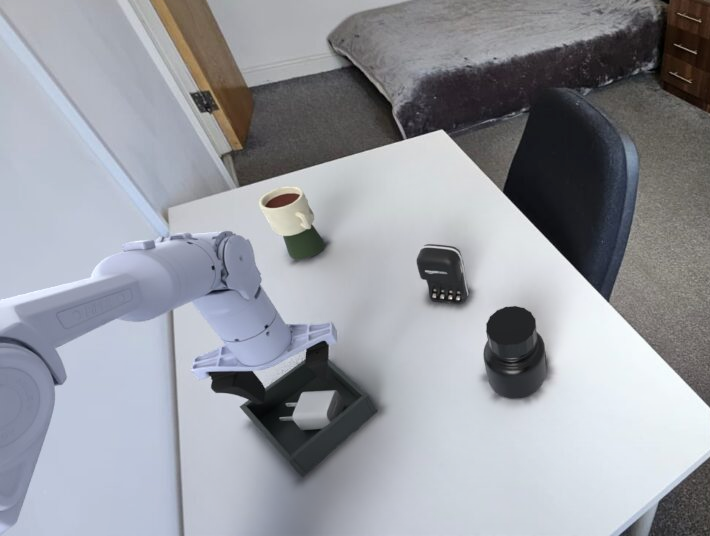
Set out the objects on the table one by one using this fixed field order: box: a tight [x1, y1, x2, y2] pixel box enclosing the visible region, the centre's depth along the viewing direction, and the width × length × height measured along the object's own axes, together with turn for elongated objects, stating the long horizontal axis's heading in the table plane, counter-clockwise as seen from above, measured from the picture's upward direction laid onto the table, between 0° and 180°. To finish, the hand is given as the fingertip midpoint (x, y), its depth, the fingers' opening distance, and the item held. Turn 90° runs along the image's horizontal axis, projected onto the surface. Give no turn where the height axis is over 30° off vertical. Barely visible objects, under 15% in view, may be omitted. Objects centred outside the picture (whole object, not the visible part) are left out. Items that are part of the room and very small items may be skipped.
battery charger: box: [416, 243, 470, 305], centre depth 79 cm, size 7×4×11 cm, turn 84°
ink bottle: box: [482, 305, 548, 400], centre depth 68 cm, size 10×9×12 cm
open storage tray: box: [239, 358, 378, 478], centre depth 65 cm, size 11×12×4 cm
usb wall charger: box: [279, 390, 344, 430], centre depth 64 cm, size 4×7×4 cm, turn 94°
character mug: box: [258, 185, 326, 260], centre depth 87 cm, size 11×7×13 cm, turn 59°
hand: (295, 387), depth 61 cm, fingers open, 7 cm apart
